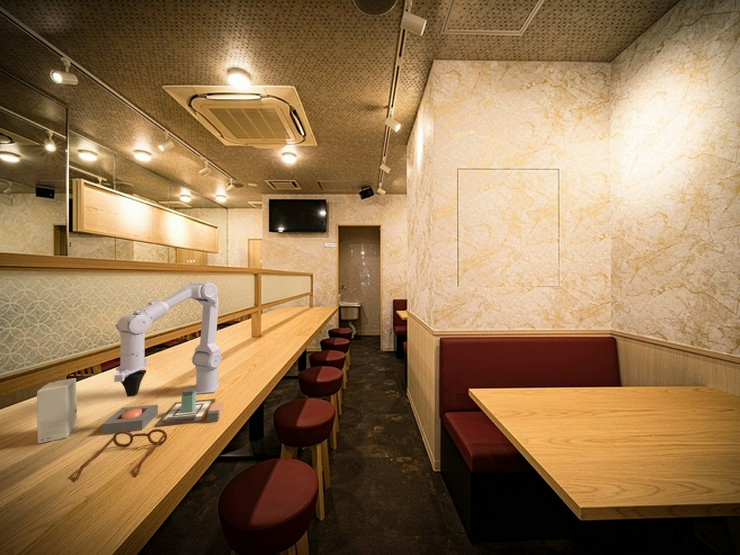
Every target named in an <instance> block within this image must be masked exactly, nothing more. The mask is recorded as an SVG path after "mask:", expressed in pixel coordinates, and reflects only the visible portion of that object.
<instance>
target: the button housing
mask: <svg viewBox="0 0 740 555" xmlns="http://www.w3.org/2000/svg"><path fill="white" fill-rule="evenodd" d="M131 409H142V414H141V415H140V416H139V417H138V418H128V419H122V413H124V412H125V411H128V410H131ZM158 414H159V404H149V405H140V406H139V405H137V406H128V407H121V408H120V409H119V410H118V411H117V412H115V413H114V414H113V415H111V416H110V417H109V418H107V419H106V420H105V421H104V422H102V424H101V435H107V434H109V435H110V434H116V433H117V432H120V431H127V432H135V431H137V430H138V431H143V430H142V429H145V428H146V427H147V426H148V425H149V423H150V422H151V421H152V420H154V418H156V416H157V415H158Z"/></svg>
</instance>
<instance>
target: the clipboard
mask: <svg viewBox="0 0 740 555" xmlns="http://www.w3.org/2000/svg"><path fill="white" fill-rule="evenodd" d="M213 403H216V398H210V399H201V400H199V399H198V400H197V399H196V407H195V409H194V410H193V411H192V412H186V413H181V404H182V401H177V402H176V401H175V402H174V403H173V405H172V406H171V407H170V408H169V409H168V410H167V412H165V413H164V415H163V416H162V417H161V418H160V419H159V420H158V422H157V423H156V424H155V428H158V427H166V426H167V427H168V426H177V425H186V424H194V423H195V424H196V423H203V422H204V421H205V419H206V418H207V417H208V411H209V409H210V408H211V406H212V404H213Z"/></svg>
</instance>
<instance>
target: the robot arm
mask: <svg viewBox="0 0 740 555" xmlns="http://www.w3.org/2000/svg"><path fill="white" fill-rule="evenodd" d="M218 292H219V288H218V287H217V286H216V285H215V284H214V283H212V282H196V281H191V282H189V283H188V284H184V285H183V286H182V287H181V288H180V289H178V290H177V291H176V292H174V293H172V294H170V295H169V296H168V297H165V299H163V300H161V301H160V300H150V301H149V302H148V303H147V305H146V306H143V307H142V308H140V309H135V310H133V313H132V314H129V313H128V314H124V315H123V316H121V317H119V320H118V321H117V324H115V328H116V330H117V331H118V332H119V337H120V356H121V357H120V362H119V364H120V365H119V366H117V367H116V368H115V371H117V372H116V374H115V375H114V376H113V378H114V380H113V381H114V382H115V383H119V382H120V383H121V384H122V386H123V388H124V390H125V391H124V392H125V394H126V397H136V396H137V395H138V393H139V391H140V386H141V384H142V382H143V379H144V377H145V376H146V373H147V370H146V369H145V368H146V366H148V365H149V359H148V358H147V359H145V350H146V349H145V348H146V347H145V346H146V345H145V343H146V342H145V341H146V340H145V339H146V338H145V335H146V332H147V331H148V330H149V328H150V326H151V325H152V324H153V323H155V322H156V321H158V320H160V319H162V317H164V316H167V315H168V312H169V310H170V309H171V308H173V307H176V306H177V305H179V304H180V303H182V302H185V301H186V300H188V299H192V300H195V301H197V302H198V303H199V304H200V305H202V316H201V326H200V328H201V329H200V341H199V342H200V343H199V344H198V345H197V346H196V347H195V348H194V352H193V353H194V354H192V358H191V363H192V365H194V366H195V369H196V371H195V372H196V375H195V376H196V377H195V378H196V379H195V380H196V381H195V384H196V385H195V392H196V395H198V394H210V393H215V392H216V391H217V390H218V388H219V387H220V385H221V381H219V366H220V365H221V362H222V358H223V357H222V354H221V348H220V347H219V346H218V345H217V343H216V341H217V340H216V339H217V328H218V319H219V318H218V314H219V305H220V302H219V301H220V300H219V297H218V294H219V293H218Z"/></svg>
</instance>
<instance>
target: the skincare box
mask: <svg viewBox="0 0 740 555" xmlns="http://www.w3.org/2000/svg"><path fill="white" fill-rule="evenodd" d="M36 404H37V405H36V406H37V407H36V410H37V411H36V412H37V415H36V416H37V417H36V418H37V419H36V420H37V421H36V423H37V426H36V427H37V444H39V445H40V444H43V443H47V442H54V441H58V440H62V439H63V440H64V439H67V438H68V437H69V435H70V433H72V431H73V430H74V429H75V427H76V426H77V425H78V413H77V411H78V410H77V407H78V406H77V405H78V402H77V378H76V377H75V378H74V377H73V378H68V379H61V380H54V381H50V382H49V383H47V384H45V385H43V386H42V387H41V388H40V389H38V390H37V391H36Z"/></svg>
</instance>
